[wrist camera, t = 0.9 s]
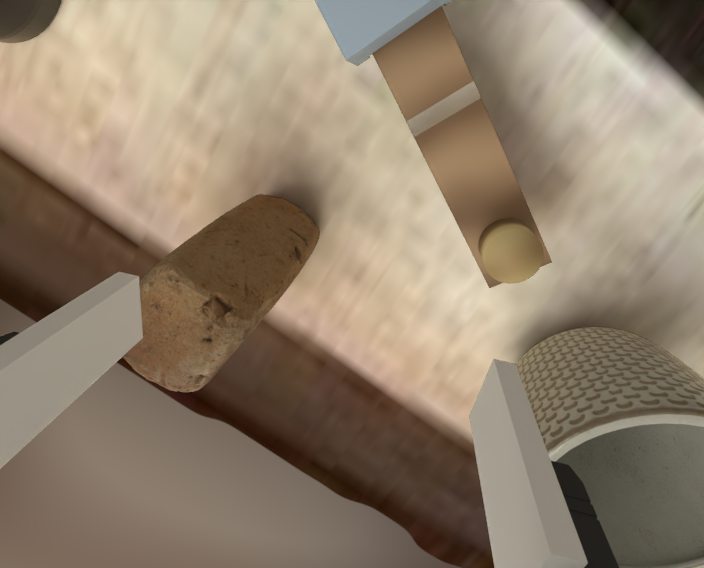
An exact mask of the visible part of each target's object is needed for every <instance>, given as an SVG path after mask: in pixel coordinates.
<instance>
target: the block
mask: <svg viewBox="0 0 704 568" xmlns="http://www.w3.org/2000/svg"><path fill="white" fill-rule="evenodd" d="M319 234H320V231H319V228H318V227H317V226H316V225H315V223H314V222H312V220H311V219H310V218H309V217H308V216H307V215H306V214H305V213H304V212H303V211H302V210H301V209H300V208H298V207H297V206H296V205H294V204H292V203H291V202H289V201H287V200H285V199H282V198H272V197H270V196H266V195H262V194H261V195H256V196H254V197H252V198H251V199H249V200H247V201H246V202H244V203H242V204H240V205H239V206H237V207H236V208H234V209H232V210H230V211H228V212H227V213H225V214H224V215H222V216H221V217H219V218H218V219H216V220H215V221H214V222H212V223H211V224H209V225H208V226H206V227H205V228H203V229H202V230H201V231H200V232H198V233H197V234H196V235H194V236H193V237H191V238H190V239H188V240H187V241H186V242H184V243H183V244H182V245H180V246H179V247H178V248H176V249H175V250H174V251H173V252H171V253H170V254H169V255H167V256H166V257H165V258H164V259H163V260H162V261H160V262H159V263H158V264H157V265H155V266H154V267H153V268H152V269H151V270H150V271H149V272H148V273H147V274H146V275H145V277H144V278H143V279H142V280H141V282H140V283H139V288H140V302H141V316H142V331H143V338H142V339H141V340H140V341H139V342H138V343H137V344H136V345H134V346H133V347H132V348H131V349H130V350H129V351H128V352H127V353H126V354H125V355H124V356H122V357H123V358H124V359H125V360H126V361H127V362H128V363H129V364H130V365H131V366H132V367H133V369H134V370H135V371H136V372H138V373H139V374H141V375H142V376H144V377H145V378H146V379H147V380H150V381H153V382H155V383H157V384H159V385H161V386H163V387H165V388H167V389H169V390H172V391H180V392H193V391H197V390H199V389H201V388H202V387H203V386H204V385H205V384H207V383H208V382H209V381H210V380H211V379H212V378H213V377H214V375H215V374H216V373H217V372H218V371H219V369H220V368H221V367H222V366H223V365H224V363H225V362H226V361H227V360H228V359H229V357H230V356H231V355H232V354H233V353H234V352H235V350H236V349H237V348H238V347H239V346H240V345H241V344H242V342H243V341H244V340H245V339H246V337H247V336H248V335H249V334H250V333H251V332H252V331H253V330H254V329H255V328H256V327H257V325H258V324H259V323H260V322H261V321H262V319H263V318H264V317H265V316H266V314H267V313H268V312H269V311H270V310H271V309H272V307H273V306H274V305H275V304H276V302H277V301H278V300H279V299H280V297H281V296H282V295H283V294H284V292H285V291H286V290H287V288H288V287H289V286H290V284H291V283H292V282H293V280H294V279H295V278H296V276H297V275H298V274H299V272H300V271H301V269H302V268H303V266H304V265H305V263H306V261H307V260H308V258H309V257H310V255H311V254H312V252H313V250H314V248H315V246H316V244H317V242H318V239H319Z"/></svg>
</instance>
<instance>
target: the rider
mask: <svg viewBox="0 0 704 568" xmlns="http://www.w3.org/2000/svg"><path fill="white" fill-rule="evenodd" d="M451 1H453V0H315V2H316V4H317V6H318V8H319V10H320V11H321V13H322V15H323V17H324V19H325V21H326V23H327V25H328V27H329V29H330V31H331V33H332V34H333V36H334V38H335V40H336V42H337V44H338V46H339V48H340V50H341V52H342V54H343V56H344V57H345V59H346V60H347V61H349V62H351V63H353V64H355V65H357V66H358V65H360V64H361V63H363V62H364V61H366V60H367V59H369V58H370V56H369V55H371V54H372V53H374V52H375V51H377V50H378V49H379V48H381V47H382V46H384V45H385V44H387V43H388V42H390V41H391V40H392V39H394V38H395V37H397V36H398V35H400V34H401V33H403V32H404V31H406V30H407V29H408V28H410V27H411V26H413V25H414V24H416V23H417V22H419V21H420V20H421V19H423V18H424V17H426V16H427V15H429V14H430V13H432V12H433V11H434V10H436V9H437V8H439V7H440V6H442V5H443V4H444V5H447V4H448V3H450V2H451Z"/></svg>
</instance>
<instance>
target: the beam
mask: <svg viewBox="0 0 704 568" xmlns="http://www.w3.org/2000/svg"><path fill="white" fill-rule="evenodd" d="M372 54H373V56H374V58H375V60H376V62H377V64H378V66H379V68H380V70H381V72H382V74H383V76H384V78H385V80H386V82H387V84H388V86H389V88H390V90H391V92H392V94H393V96H394V98H395V100H396V102H397V104H398V106H399V108H400V110H401V112H402V114H403V116H404V118H405V120H406V122H407V124H408V126H409V128H410V130H411V132H412V134H413V136H414V138H415V140H416V142H417V144H418V146H419V148H420V150H421V152H422V154H423V156H424V158H425V160H426V162H427V164H428V166H429V168H430V170H431V172H432V174H433V176H434V178H435V180H436V182H437V184H438V186H439V188H440V190H441V192H442V194H443V196H444V198H445V200H446V202H447V204H448V206H449V208H450V210H451V212H452V214H453V216H454V218H455V220H456V222H457V224H458V226H459V228H460V230H461V232H462V234H463V236H464V238H465V240H466V242H467V244H468V246H469V248H470V250H471V252H472V254H473V256H474V258H475V260H476V262H477V264H478V266H479V268H480V270H481V272H482V274H483V276H484V278H485V280H486V282H487V284H488V286H489V288H491V287H494V286H496V285H498V284H501V283H518V282H522V281H525V280H527V279H528V278H530V277H531V276H533V275H534V274H535V273H536V272H537V271H538V269H539V268H540V267H541V266H544V265H546V264H549V263H551V262H552V261H551V259H550V256H549V254H548V252H547V249H546V247H545V245H544V243H543V240H542V238H541V236H540V233H539V231H538V229H537V226H536V224H535V222H534V219H533V217H532V215H531V213H530V210H529V208H528V206H527V203H526V201H525V199H524V196H523V194H522V192H521V189H520V187H519V185H518V182H517V180H516V178H515V176H514V173H513V171H512V169H511V166H510V164H509V162H508V159H507V157H506V155H505V152H504V150H503V148H502V146H501V143H500V141H499V139H498V136H497V134H496V132H495V129H494V127H493V125H492V122H491V120H490V118H489V115H488V113H487V111H486V109H485V106H484V104H483V102H482V99H481V96H480V94H479V92H478V89H477V87H476V85H475V82H474V81H473V79H472V76H471V74H470V72H469V69H468V67H467V65H466V62H465V60H464V58H463V55H462V53H461V51H460V49H459V46H458V44H457V42H456V39H455V37H454V35H453V32H452V30H451V28H450V25H449V23H448V21H447V18H446V16H445V14H444V12H443V9H442V7H441V6H440V7H439V8H437V9H436V10H434V11H433V12H432V13H430V14H429V15H427V16H426V17H424V18H423V19H421V20H420V21H419V22H417V23H416V24H414V25H413V26H411V27H410V28H408V29H407V30H406V31H404V32H403V33H401V34H400V35H398V36H397V37H395V38H394V39H392V40H391V41H390V42H388V43H387V44H385V45H384V46H382V47H381V48H379V49H378V50H377V51H375V52H374V53H372Z"/></svg>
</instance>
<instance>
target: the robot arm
mask: <svg viewBox="0 0 704 568" xmlns="http://www.w3.org/2000/svg"><path fill="white" fill-rule="evenodd" d="M60 1H61V0H0V42H5V43H17V42H23V41H26V40H29V39H31V38H34V37H35V36H37V35H38V34H40V33H41V32H42V31H43V30H44V29H46V27H47V26H48V25H49V24H50V22H51V21H52V20H53V18H54V16H55V14H56V12H57V10H58V7H59V5H60ZM142 338H143V331H142V316H141V302H140V288H139V276H135V275H131V274H126V273H122V272H118V273H116V274H114V275H113V276H111V277H110V278H108V279H106V280H105V281H103V282H102V283H100V284H98V285H97V286H95V287H94V288H92V289H90V290H89V291H87V292H85V293H84V294H82V295H81V296H79V297H77V298H76V299H74V300H73V301H71V302H69V303H68V304H66V305H64V306H63V307H61V308H60V309H58V310H56V311H55V312H53V313H52V314H50V315H48V316H47V317H45V318H44V319H42V320H40V321H39V322H37V323H35V324H34V325H33V326H31V327H29V328H28V329H26V330H24V331H23V332H21V333H17V332H12V333H10V334H6V335H4V336H1V337H0V468H1V467H2V466H4V465H5V464H6V463H7V462H8V461H9V460H10V459H11V458H12V457H14V456H15V455H16V454H17V453H18V452H19V451H20V450H21V449H22V448H23V447H24V446H26V445H27V444H28V443H29V442H30V441H31V440H32V439H33V438H34V437H35V436H36V435H38V434H39V433H40V432H41V431H42V430H43V429H44V428H45V427H46V426H47V425H48V424H50V423H51V422H52V421H53V420H54V419H55V418H56V417H57V416H58V415H59V414H60V413H61V412H63V411H64V410H65V409H66V408H67V407H68V406H69V405H70V404H71V403H72V402H73V401H74V400H76V399H77V398H78V396H80V395H81V394H82V393H83V392H84V391H85V390H86V389H88V388H89V387H90V386H91V385H92V384H93V383H94V382H95V381H96V380H97V379H98V378H99V377H101V376H102V375H103V374H104V373H105V372H106V371H107V370H108V369H109V368H110V367H112V365H114V364H115V363H116V362H117V361H118V360H119V359H120V358H121V357H122V356H124V355H125V354H126V353H127V352H128V351H129V350H130V349H131V348H132V347H133V346H134V345H136V344H137V343H138V342H139V341H140V340H141V339H142ZM469 417H470V423H471V429H472V435H473V441H474V447H475V453H476V459H477V465H478V471H479V477H480V483H481V489H482V495H483V501H484V507H485V513H486V519H487V525H488V531H489V537H490V543H491V549H492V555H493V561H494V567H495V568H619V566H618V563H617V561H616V559H615V556H614V554H613V552H612V549H611V547H610V545H609V542H608V540H607V538H606V535H605V533H604V531H603V528H602V526H601V524H600V521H599V520H597V514H596V512H595V510H594V507H593V505H591V503H590V502H591V500H590V498H589V496H588V493H587V491H586V489H585V486H584V484H583V482H582V481H581V480H580V478H579V477H578V476H577V475H576V473H575V472H574V471H573V469H572V468H571V467H570V466H569V465H567V464H563V463H559V462H555V461H551V460H550V458H549V455H548V452H547V449H546V447H545V444H544V441H543V438H542V436H541V433H540V430H539V428H538V425H537V422H536V419H535V417H534V414H533V411H532V408H531V406H530V403H529V400H528V397H527V395H526V392H525V389H524V387H523V384H522V381H521V378H520V376H519V373H518V370H517V367H516V365H515V364H513V363H509V362H505V361H500V360H496V359H493V362H492V364H491V366H490V369H489V371H488V373H487V376H486V378H485V380H484V383H483V385H482V387H481V390H480V392H479V394H478V397H477V399H476V401H475V404H474V406H473V408H472V411H471V413H470V415H469Z"/></svg>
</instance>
